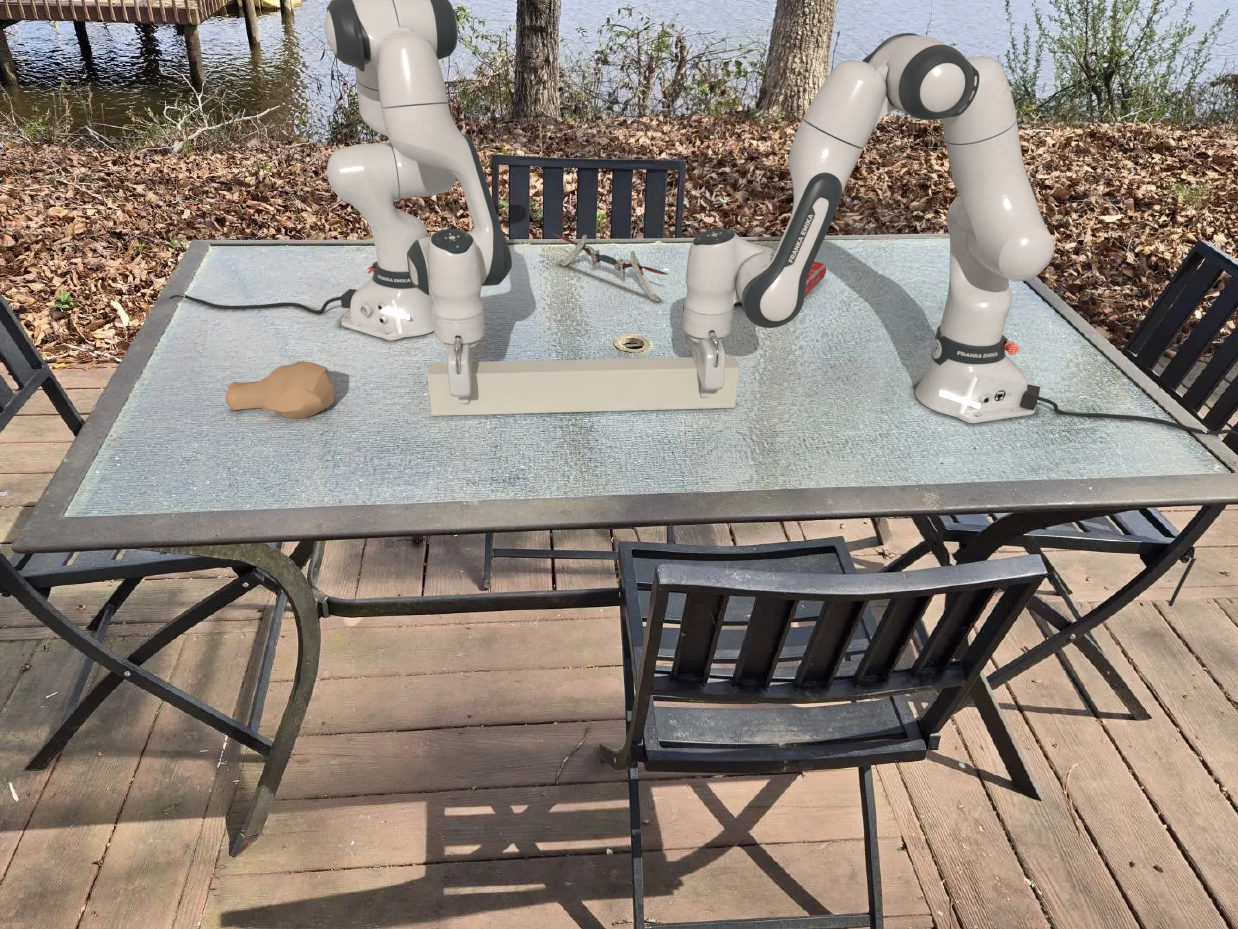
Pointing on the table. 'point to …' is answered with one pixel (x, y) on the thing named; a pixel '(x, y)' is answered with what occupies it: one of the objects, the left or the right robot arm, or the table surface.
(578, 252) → the bow
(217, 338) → the table surface
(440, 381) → the beam
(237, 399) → the squash
